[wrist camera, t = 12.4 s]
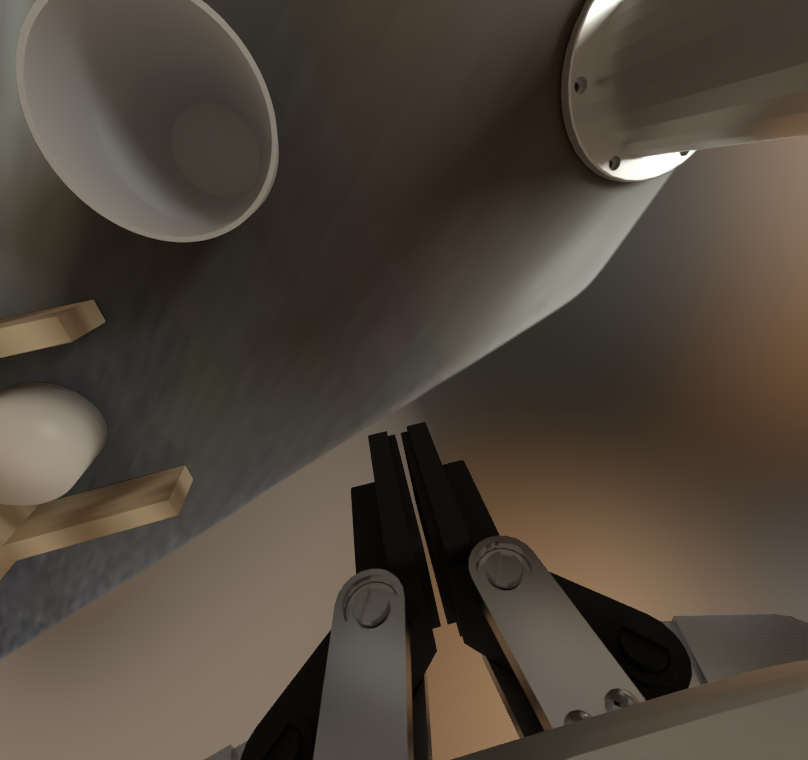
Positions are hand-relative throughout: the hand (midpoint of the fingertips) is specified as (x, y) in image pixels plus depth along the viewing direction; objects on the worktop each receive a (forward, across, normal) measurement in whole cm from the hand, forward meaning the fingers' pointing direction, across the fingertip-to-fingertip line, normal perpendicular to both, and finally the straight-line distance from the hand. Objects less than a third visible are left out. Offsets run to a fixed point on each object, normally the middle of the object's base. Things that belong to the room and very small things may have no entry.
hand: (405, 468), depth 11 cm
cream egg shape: (+18, +23, +4) cm, 30 cm away
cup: (+19, +6, -10) cm, 23 cm away
